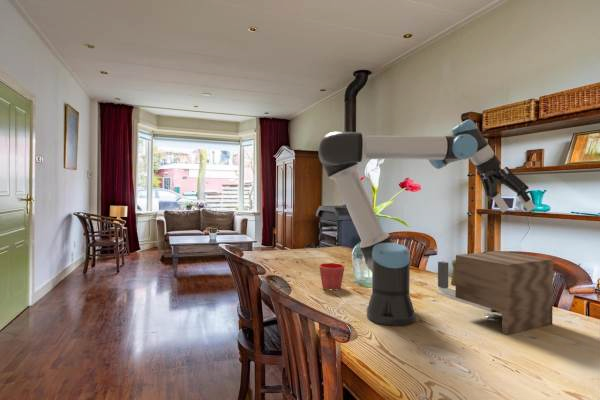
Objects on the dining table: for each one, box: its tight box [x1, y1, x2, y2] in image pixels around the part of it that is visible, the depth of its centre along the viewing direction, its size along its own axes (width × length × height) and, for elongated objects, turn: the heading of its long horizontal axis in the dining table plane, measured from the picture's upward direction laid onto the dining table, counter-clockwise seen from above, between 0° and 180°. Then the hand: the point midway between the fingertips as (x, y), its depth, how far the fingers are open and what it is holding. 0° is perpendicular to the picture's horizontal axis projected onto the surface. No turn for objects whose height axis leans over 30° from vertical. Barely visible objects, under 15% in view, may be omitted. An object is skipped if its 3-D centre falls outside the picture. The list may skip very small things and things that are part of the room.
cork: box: [450, 259, 456, 287], centre depth 158 cm, size 6×6×11 cm
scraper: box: [436, 260, 497, 312], centre depth 133 cm, size 3×24×13 cm, turn 25°
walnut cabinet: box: [455, 250, 554, 336], centre depth 113 cm, size 21×18×20 cm
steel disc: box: [484, 313, 502, 322], centre depth 115 cm, size 5×5×1 cm
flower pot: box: [319, 262, 345, 291], centre depth 152 cm, size 11×11×10 cm
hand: (518, 210), depth 126 cm, fingers open, 13 cm apart
